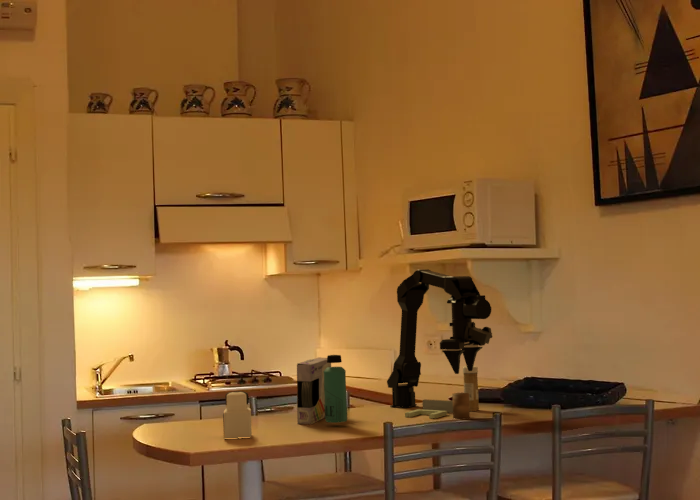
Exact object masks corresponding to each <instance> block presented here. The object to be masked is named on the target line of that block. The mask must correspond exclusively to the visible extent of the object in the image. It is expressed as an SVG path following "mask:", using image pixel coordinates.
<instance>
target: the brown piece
mask: <svg viewBox="0 0 700 500" xmlns="http://www.w3.org/2000/svg"><path fill="white" fill-rule="evenodd" d="M452 401H453V413H452V418H453V419H454V418H455V420H466V419H467V418H468V419H470V418H471V417H470V416H471V414H470V413H471V411H470V410H469V393H464V392H454V393H452Z"/></svg>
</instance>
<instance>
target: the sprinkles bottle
mask: <svg viewBox="0 0 700 500" xmlns="http://www.w3.org/2000/svg"><path fill="white" fill-rule="evenodd" d="M478 369H479V368H478V366H477V365H474V366H473V370H472V371H468V368H467V365H465V366H463V367H462V374H463V393H469V410H470V412H477V411H479V410H480V407H479V404H480V403H479V383H478V374H479V370H478Z"/></svg>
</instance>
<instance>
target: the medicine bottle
mask: <svg viewBox="0 0 700 500" xmlns="http://www.w3.org/2000/svg"><path fill="white" fill-rule="evenodd" d="M224 396H225V409H224V410H223V414H222V417H223V439H224V438H238V437H251V438H252V433H253V432H252V408H250V407H249V393H248V392H246V391H243V390H242V391H241V390H239V391H229V392H227V393H226V394H225V395H224Z"/></svg>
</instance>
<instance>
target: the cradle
mask: <svg viewBox="0 0 700 500" xmlns="http://www.w3.org/2000/svg"><path fill="white" fill-rule="evenodd" d="M419 415H426V416H428V418H429V419H433V418H435V419H438V418H441V417H444V416H448V413H447V411H440V410H423V408H422V409H420V408H417V409H414V410H411V411H410V410H409V411H405V412H404V417H405V418H413V417H415V416H419Z"/></svg>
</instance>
